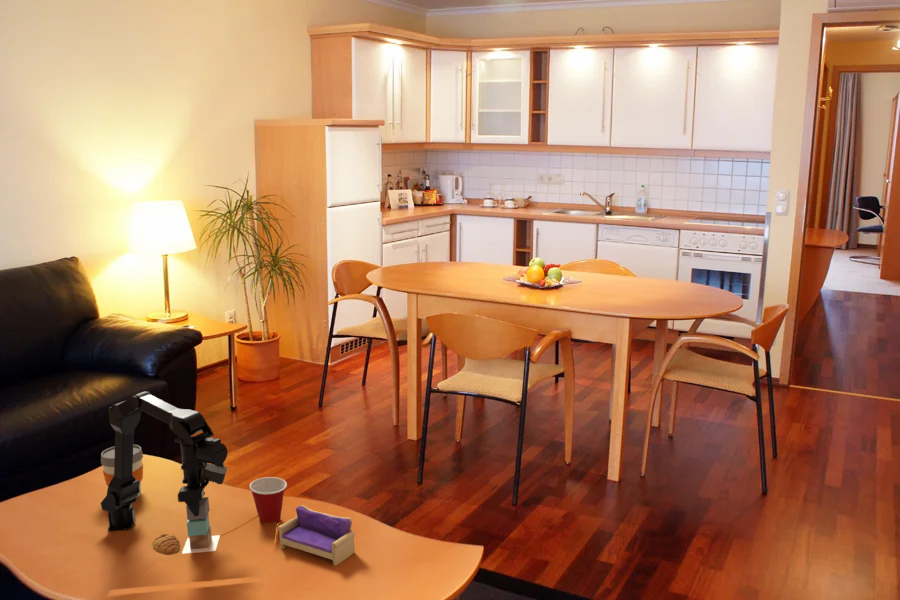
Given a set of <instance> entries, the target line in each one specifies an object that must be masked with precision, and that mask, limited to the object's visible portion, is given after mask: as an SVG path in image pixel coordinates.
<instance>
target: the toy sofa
mask: <svg viewBox="0 0 900 600" xmlns="http://www.w3.org/2000/svg"><path fill="white" fill-rule="evenodd" d="M295 512H296V516H295V517H294V518H291V519H289V520H287V521H285V522H284V523H282V524H281V525H279V526H278V525H277V531H278V532H279V540H280V541H279V544H280V547H279V548H280V549H281V550H284V549H286V548H288V547H289V548H290V547H291V548H294V549H297V550H299V551H304V552H307V553H309V554H313V555H316V556H319V557H322V558H325V559H329V560H331V561H332V564H333V566H335V567H336V566H338V565H340V564H341V563H342V562H343V561H345V560H346V559H348V558H349V557H351V556H352V555H353V554H355V552H356V550H355V537H354V536H355V535H356V531H355V530H353V529H352V523H353V521H352V519H351V517H348V516H347V517H346V516H345V517H344V516H343V517H342V516H337V515H333V514H328V513H325V512H320V511H316V510H313V509H310V508H309V507H308V506H306V505H303V504H301V505H299V506H297V507H296V508H295Z"/></svg>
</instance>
